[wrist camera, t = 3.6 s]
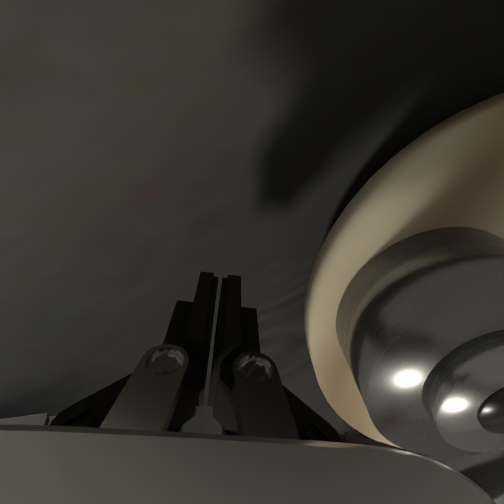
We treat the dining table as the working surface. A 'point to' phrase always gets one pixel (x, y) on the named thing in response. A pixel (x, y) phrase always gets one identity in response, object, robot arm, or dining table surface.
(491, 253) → the cover
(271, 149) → the dining table surface
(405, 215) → the turntable
